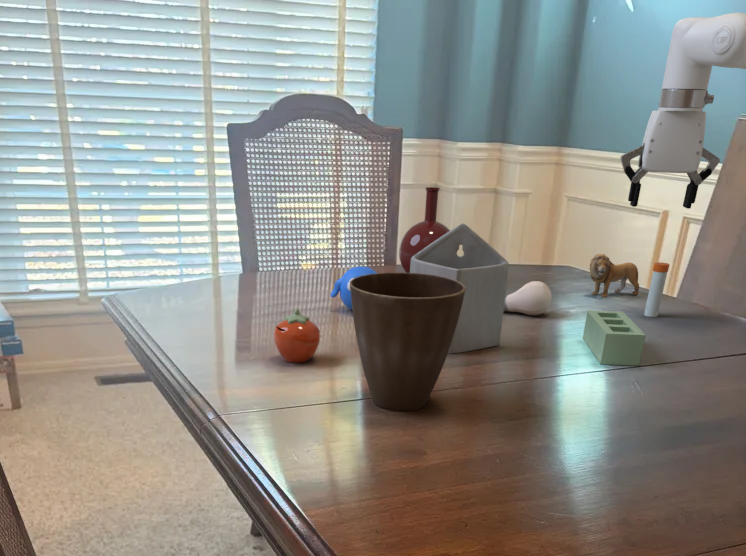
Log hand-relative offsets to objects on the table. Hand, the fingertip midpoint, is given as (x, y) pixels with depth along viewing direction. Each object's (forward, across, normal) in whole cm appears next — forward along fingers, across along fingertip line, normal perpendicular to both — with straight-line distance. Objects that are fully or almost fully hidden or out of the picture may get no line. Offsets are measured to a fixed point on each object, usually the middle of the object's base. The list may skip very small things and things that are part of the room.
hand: (659, 206), depth 144 cm
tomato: (+20, +61, +43) cm, 78 cm away
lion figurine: (+20, +2, -18) cm, 28 cm away
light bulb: (+20, +23, +4) cm, 31 cm away
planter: (+20, +37, +31) cm, 52 cm away
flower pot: (+20, +44, +60) cm, 77 cm away
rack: (+20, +10, +28) cm, 36 cm away
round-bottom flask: (+20, +43, -24) cm, 53 cm away
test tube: (+20, -3, -1) cm, 20 cm away
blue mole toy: (+20, +55, +10) cm, 59 cm away
